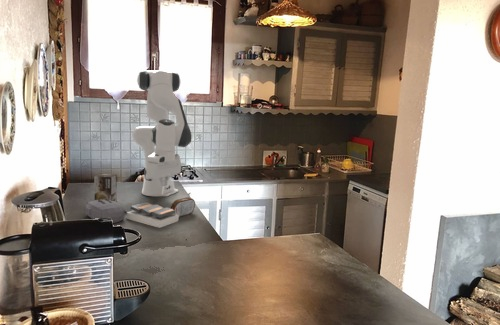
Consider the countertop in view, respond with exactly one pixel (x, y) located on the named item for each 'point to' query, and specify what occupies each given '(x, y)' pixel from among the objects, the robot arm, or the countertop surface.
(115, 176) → the coffee box
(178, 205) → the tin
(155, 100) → the robot arm
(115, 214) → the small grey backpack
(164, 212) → the flat block
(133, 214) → the white rectangular tray
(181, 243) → the countertop surface
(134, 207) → the rocker
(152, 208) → the rocker
